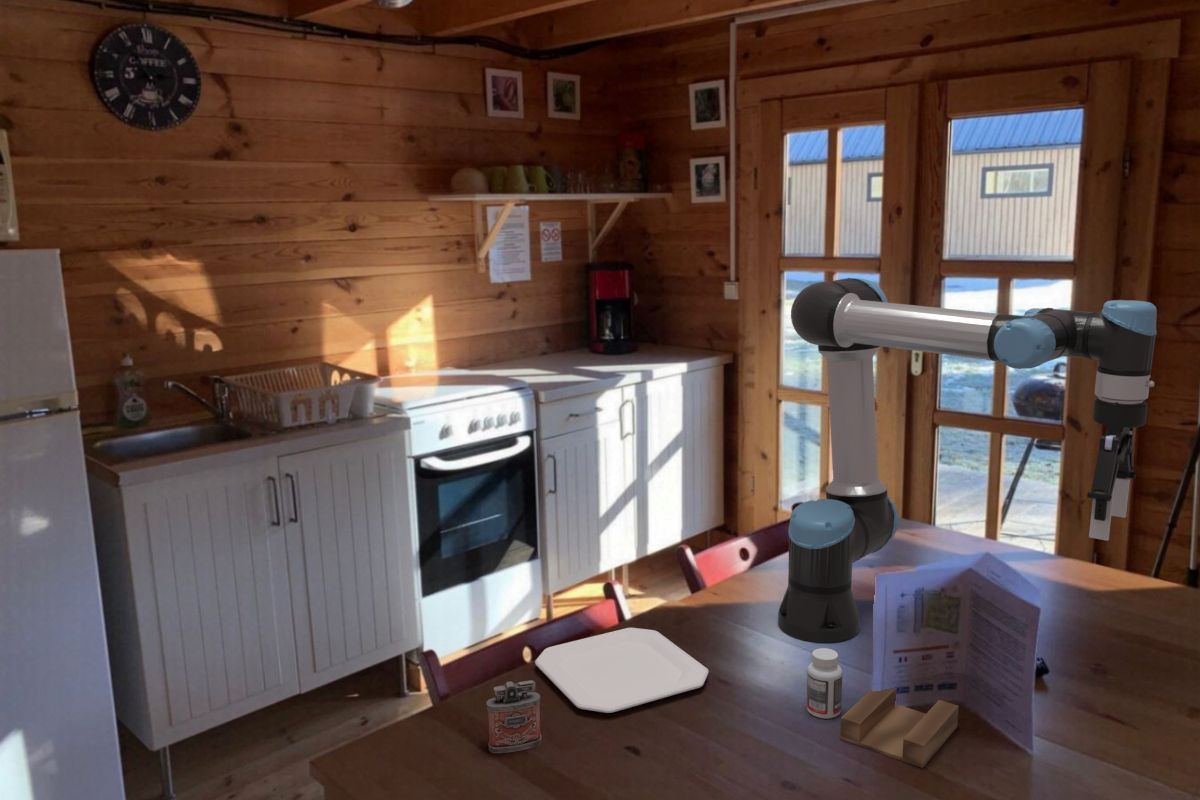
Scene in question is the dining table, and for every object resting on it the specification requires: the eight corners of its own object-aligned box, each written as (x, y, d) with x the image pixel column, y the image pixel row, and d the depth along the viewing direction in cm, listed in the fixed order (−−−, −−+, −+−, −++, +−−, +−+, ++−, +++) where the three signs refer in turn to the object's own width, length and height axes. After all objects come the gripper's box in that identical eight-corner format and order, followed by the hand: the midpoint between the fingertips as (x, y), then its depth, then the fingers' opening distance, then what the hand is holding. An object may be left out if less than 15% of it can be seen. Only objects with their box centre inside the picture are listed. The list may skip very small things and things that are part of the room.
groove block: (840, 738, 145) (840, 717, 144) (878, 701, 155) (879, 681, 155) (922, 768, 137) (923, 745, 136) (957, 726, 147) (958, 705, 147)
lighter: (490, 755, 142) (487, 693, 140) (486, 743, 145) (483, 682, 143) (544, 746, 144) (541, 684, 142) (538, 734, 147) (536, 674, 145)
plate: (526, 663, 171) (525, 651, 171) (647, 633, 182) (646, 622, 182) (588, 728, 149) (588, 715, 149) (721, 690, 160) (721, 677, 160)
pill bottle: (831, 700, 156) (832, 644, 154) (847, 716, 151) (849, 659, 149) (800, 704, 155) (801, 648, 153) (815, 721, 150) (817, 663, 148)
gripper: (1132, 416, 141) (1118, 554, 145) (1161, 389, 160) (1147, 511, 164) (1076, 409, 145) (1064, 543, 149) (1111, 384, 164) (1099, 503, 169)
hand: (1107, 526), depth 157 cm, fingers open, 13 cm apart
